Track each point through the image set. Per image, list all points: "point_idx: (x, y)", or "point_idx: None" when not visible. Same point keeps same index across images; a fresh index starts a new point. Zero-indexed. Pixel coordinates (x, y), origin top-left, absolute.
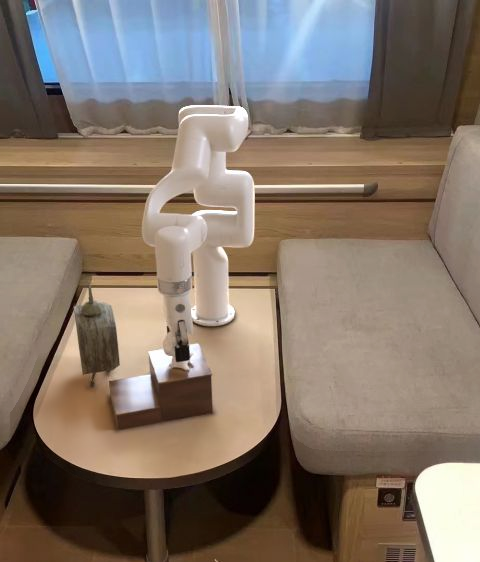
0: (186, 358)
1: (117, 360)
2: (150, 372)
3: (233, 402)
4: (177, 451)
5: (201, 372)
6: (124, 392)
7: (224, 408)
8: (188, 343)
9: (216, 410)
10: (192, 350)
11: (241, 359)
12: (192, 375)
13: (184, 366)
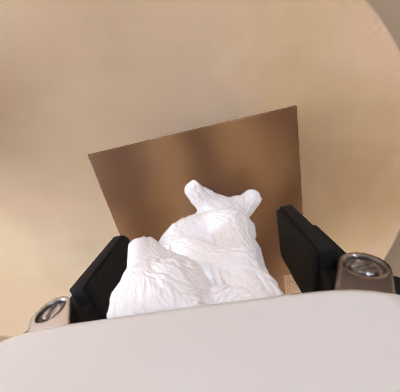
0: (313, 225)
1: None
2: None
3: (220, 64)
4: (352, 186)
5: (278, 146)
6: None
7: (239, 88)
8: (390, 274)
9: (244, 107)
10: (135, 176)
11: (42, 31)
12: (289, 178)
13: (254, 208)
